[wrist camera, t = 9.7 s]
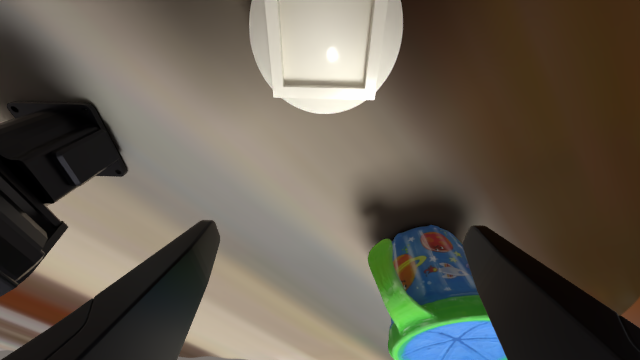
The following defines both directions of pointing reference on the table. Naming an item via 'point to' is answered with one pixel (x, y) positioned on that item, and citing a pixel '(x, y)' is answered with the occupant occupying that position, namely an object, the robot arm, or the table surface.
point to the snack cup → (432, 298)
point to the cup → (325, 49)
